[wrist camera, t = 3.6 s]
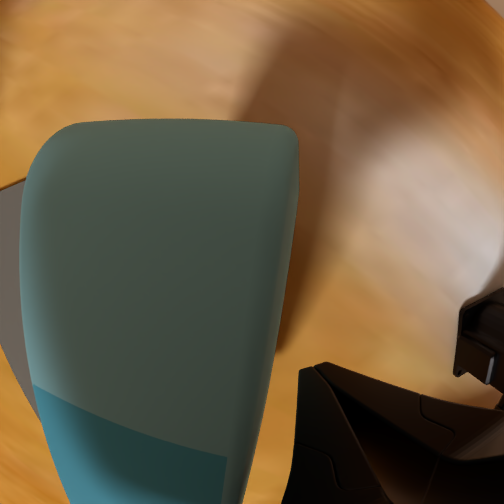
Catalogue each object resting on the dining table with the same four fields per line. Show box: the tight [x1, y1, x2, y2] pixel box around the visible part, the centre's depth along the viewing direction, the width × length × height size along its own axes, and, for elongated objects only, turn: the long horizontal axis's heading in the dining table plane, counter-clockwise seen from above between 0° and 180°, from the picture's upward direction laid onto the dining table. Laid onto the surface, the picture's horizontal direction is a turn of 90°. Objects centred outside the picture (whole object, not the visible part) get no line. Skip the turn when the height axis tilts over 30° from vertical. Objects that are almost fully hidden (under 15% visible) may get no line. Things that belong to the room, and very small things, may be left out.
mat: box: [0, 180, 41, 421], centre depth 16 cm, size 13×18×1 cm
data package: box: [19, 119, 299, 504], centre depth 10 cm, size 12×4×12 cm, turn 172°
